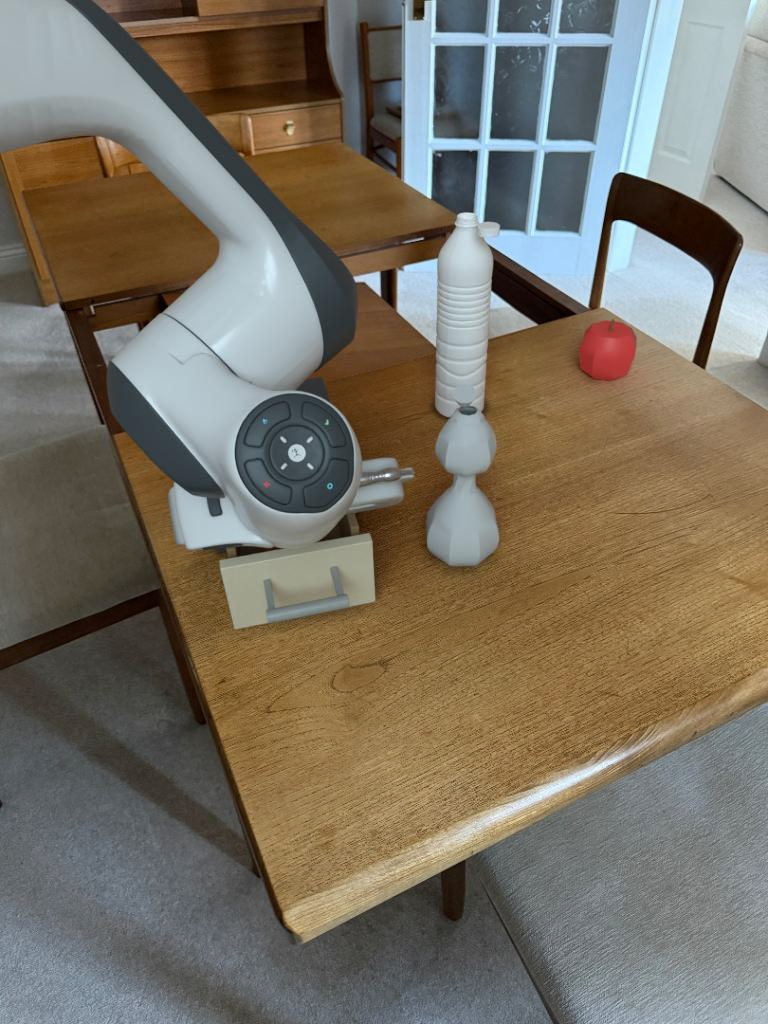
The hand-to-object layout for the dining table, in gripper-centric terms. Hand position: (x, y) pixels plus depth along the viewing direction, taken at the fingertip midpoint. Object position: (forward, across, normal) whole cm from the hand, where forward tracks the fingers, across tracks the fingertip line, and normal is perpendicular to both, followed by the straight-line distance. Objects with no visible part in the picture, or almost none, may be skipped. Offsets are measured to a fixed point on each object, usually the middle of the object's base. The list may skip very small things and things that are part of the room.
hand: (287, 510), depth 71 cm
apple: (+25, -48, -14) cm, 56 cm away
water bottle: (+22, -26, -11) cm, 36 cm away
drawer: (+3, 0, +6) cm, 7 cm away
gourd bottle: (+4, -17, +7) cm, 19 cm away
